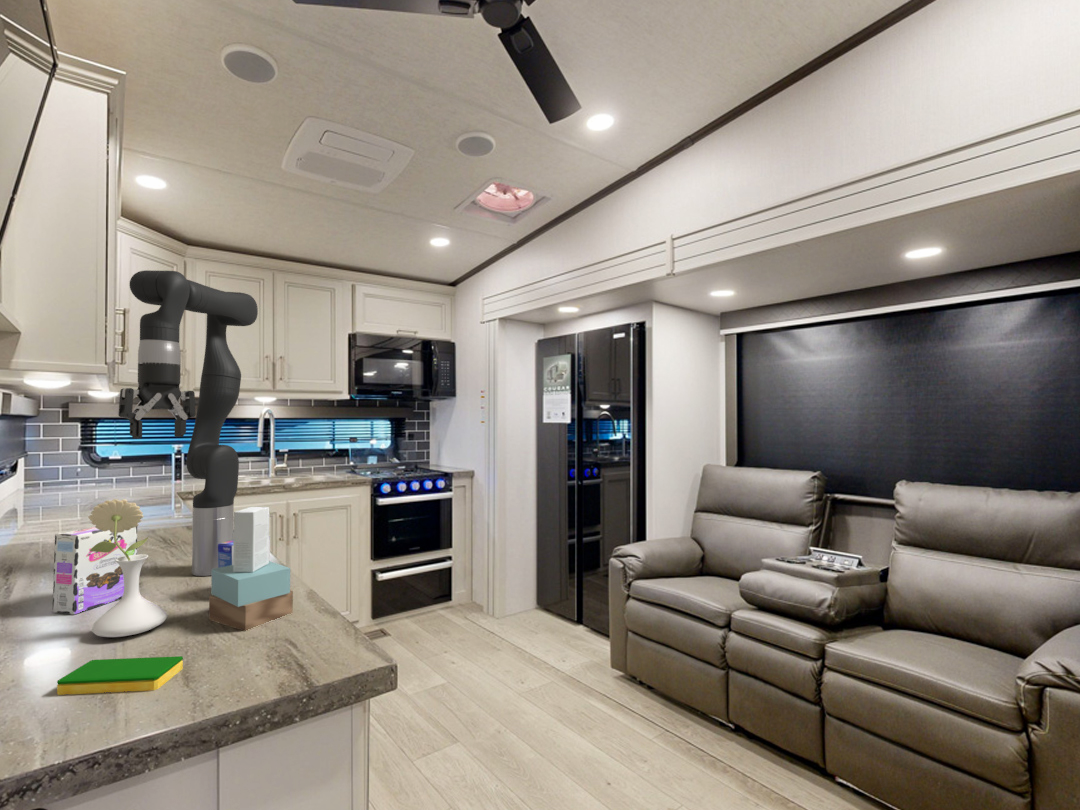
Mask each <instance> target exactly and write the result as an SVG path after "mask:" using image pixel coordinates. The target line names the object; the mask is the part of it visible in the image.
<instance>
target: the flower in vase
mask: <svg viewBox="0 0 1080 810" xmlns="http://www.w3.org/2000/svg"><path fill="white" fill-rule="evenodd" d="M90 514H91V515H89V516H88V519H89V521H91V524H92V525H94V527H96V528H97V529H99V530H102V531H108V530H110V532H111V533H114V541H115V543H111V542H106V541H102V542H100V543H98V544H96V545H95V546H94V547H93V548H92V549H91V550H90V551H92V552H111V551H112V550H113V549H114V548H115V547H116V545H117V547H118V548H119V549H120V550H121V551H122V552H123V553H124V555H125V556H123V557H120V558H117V559H115V561H116V562H117V563H118V564H119V565H120V567H121V569H122V572H123V577H124V593H123V596H122V598H121V599H119V601H118V602H117V603H116V604H114V605H113V607H111V608H110V609H108V610H107V611H106V612H105V613H103V614H102V615H101V616H100V617H99V618H98V619H97V620H96V621H95V622H94V623H93V626H92V627H91V632H92V633H93V634H94V635H95V636H98V637H101V638H102V637H103V638H121V637H127V636H132V635H137V634H141V633H145V632H148V631H149V630H153V629H154V628H156V627H158V626H160V625H162V624H163V623H164V622H166V619H167V618H168V613H167V611H166V610H165V608H162V606H160V605H158V604H156V603H155V602H152V601H150V600H148V599H146V598H145V597H143V595H141V593H140V575H141V570H142V567H143V565H144V563H145V561H146V560H147V559H148V557H149V555H148V554H141V553H140V554H139V553H137V555H127V553H126V552H127V551H130V550H134V549H136V548H137V549H138V548H140V547H141V546H143V545H144V544H145V543H147V540H149V536H147V537H145V538H144V539H142V540H139V541H138V540H137V542H136V543H134V544H132V545H131V546H130V547H129V548H128V549H127V550H126V551H124V550H123V549H122V548H121V547H120V545H119V544H118V543H117V540H116V533H119V532H124V530H130V529H131V528H134V527H137V528H138V527H139V526H140V525H139V523H141V522H142V519H143V518H144V517H145V516H144V515H143V514H144V512H143V511H142V510H141V507H140V506H139V505H137V503H136V502H128V499H126V498H125V499H121V500H119V499H117V498H114V499H112V500H110V499H108V500H107V499H106V500H104V502H102V503H98V504H97V505H96V506H93V508H92V510H91V512H90Z"/></svg>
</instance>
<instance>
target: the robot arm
mask: <svg viewBox="0 0 1080 810" xmlns="http://www.w3.org/2000/svg"><path fill="white" fill-rule="evenodd" d="M129 290H130V291H131V294H132V295H133V296H134V297H135V298H136V299H137V300H138V301H140V302H142V303H144V304H146V305H147V304H148V305H152V306H159V308H158V309H157V310H156V311H153V312H149V313H145V314H143V315H142V316H141V317H140V318H139V319H140V320H139V343H138V349H137V383H138V386H137V389H135V388H132V387H125V388H121V389H120V391H119V402H118V404H119V405H118V417H120V418H123V419H127V420H129V436H131V437H132V439H136V440H137V439H139V440H140V439H142V438H143V420H141V419H142V418H144V416H145V415H146V413H149V412H150V410H161V411H162V410H167V411H168V412H169V413H171V415H172V416H173V417H174V418H175V420H174V437H175V438H184V436H185V435H186V433H187V420H188V419H190V418H194V417H195V421H194V422H195V423H194V427H193V431H192V435H191V439H190V442H189V447H188V449H187V455H186V463H185V464H186V470H187V472H188V473H189V475H190V476H191V477H193V478H195V479H198V480H199V479H200V480H204V481H205V482H204V488H203V489H202V491H201V492H199V493H197V494H196V495H194V496H193V498H192V527H191V529H192V530H191V533H192V534H191V535H192V537H191V539H192V540H191V541H192V542H191V544H192V545H191V553H192V554H191V575H192V576H195V577H196V576H197V577H198V576H199V577H205V576H206V577H207V576H212V569H215V568H218V544H220V543H224V542H228V541H232V540H234V532H233V530H234V512H235V511H234V508H235V507H234V506H235V505H234V502H235V497H236V495H237V492H238V484H239V470H240V463H239V462H240V461H239V456H238V453H237V451H236V449H235V448H233V446H230V445H228V444H220V438H221V432H222V428H223V426H224V424H225V421H226V419H227V418H228V416H229V415H230V413H231V412H232V411H233V410H234V407H235V406H236V404H237V403H238V399H239V396H240V390H241V382H242V372H241V369H240V367H239V365H238V363H237V360H236V359H235V357H234V356H233V354H232V351H231V350H230V347H229V346H228V342H227V327H231V326H232V327H248V326H252V325H253V324H254V323H255V322H256V321H257V319H258V318H257V317H258V311H259V310H258V303H257V301H256V300H255V298H254V297H253V296H252V295H250V294H249V293H246V292H240V291H239V292H238V291H237V292H236V291H235V292H234V291H224V290H220V289H216V288H214V287H210V286H208V285H204V284H202V283H199V282H196V281H194V280H190V279H188V278H186V276H185V275H184V274H182V273H181V272H179V271H176V270H149V269H147V270H141V271H140V270H139V271H137V272H135V273H134V274H132V276H131V278H130V280H129ZM185 311H189V312H192V313H198V314H206V336H205V350H204V356H203V357H204V359H203V365H202V371H201V377H200V385H199V395H198V402H197V403H198V404H197V408H196V397H195V395H196V394H195V391H194V390H184V391H181V389H180V384H181V367H182V366H181V363H182V362H181V361H182V355H181V354H182V353H181V347H180V332H181V331H180V326H181V322H182V319H183V316H184V314H185V313H184V312H185ZM136 396H137V397H138V400H139V402H138V403H137V404H136V405H135V406H134V399H136ZM179 399H181V401H182V405H181V404H180V402H179V401H178V400H179ZM133 406H134V407H133Z"/></svg>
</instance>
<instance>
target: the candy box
mask: <svg viewBox="0 0 1080 810" xmlns="http://www.w3.org/2000/svg"><path fill="white" fill-rule="evenodd" d="M116 540H117V543H118V544H119V545H120V547H121V548H122V549H123V550H124V551H126V550H127V549H128V548H129V547H130V546H131V545H132V544H134V543H136V542H138V526H137V527H134V528H131V529H130V530H124V532H119V533H116ZM102 541H106V542H111V543H115V541H114V533H111V532H110V530H108V531H102V530H99V529H97V528H96V527H95V526H91V527H86V528H81V529H77V530H72V531H66V532H60V533H55V535H54V559H53V560H54V561H53V562H54V563H53V585H52V586H53V587H52V589H53V590H52V613H58V614H66V615H73V614H74V615H77V614H79V613H80V612H81V613H82V611H84V612H86V611H89V610H92V609H94V607H95V608H97V606H98V607H101V606H103V605H102V604H104V605H107V604H109V603H108V602H110V603H113V602H115V600H116V601H118V599H119V600H121V598H122V596H123V593H124V577H123V572H122V569H121V567H120V565H119V564H118V563H117V562H116V561H115V559H117V558H120V557H123V556H125V555H124V553H123V552H122V551H121V550H120V549H119V548H118V547H117V545H116V547H115V548H114V549H113V550H112V551H111V552H92V551H90V550H91V549H92V548H93V547H94V546H95V545H96V544H98V543H100V542H102ZM126 553H127V555H137V554H138V548H136V549H134V550H130V551H127V552H126ZM112 601H113V602H112ZM106 603H107V604H106ZM100 605H101V606H100ZM91 608H92V609H91ZM88 609H89V610H88ZM85 610H86V611H85Z"/></svg>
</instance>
